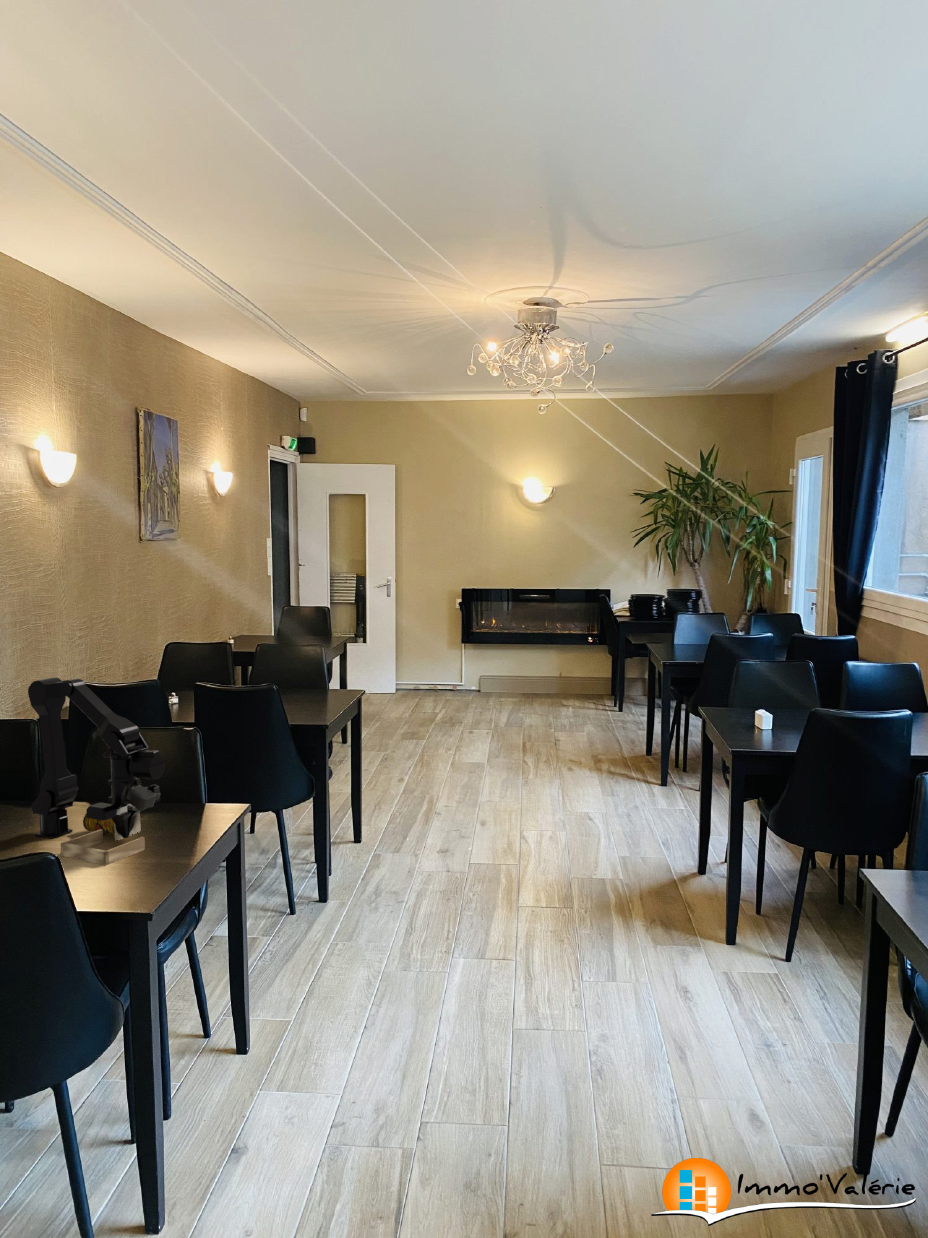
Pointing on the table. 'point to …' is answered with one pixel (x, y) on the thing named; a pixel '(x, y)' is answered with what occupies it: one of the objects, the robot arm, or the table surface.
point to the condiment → (110, 826)
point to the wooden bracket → (81, 850)
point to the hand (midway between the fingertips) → (125, 838)
